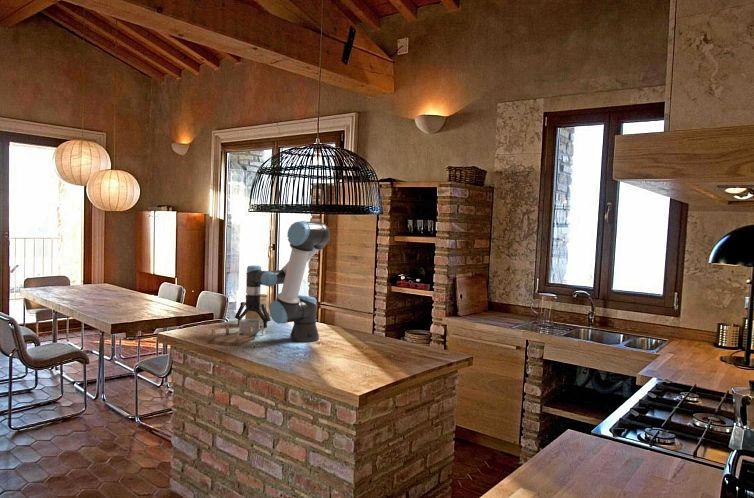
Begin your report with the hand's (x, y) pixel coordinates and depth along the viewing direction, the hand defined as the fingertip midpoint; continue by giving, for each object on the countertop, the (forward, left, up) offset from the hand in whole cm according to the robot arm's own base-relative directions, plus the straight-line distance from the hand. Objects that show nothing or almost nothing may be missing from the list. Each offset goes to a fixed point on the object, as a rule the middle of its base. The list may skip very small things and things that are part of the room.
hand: (252, 332), depth 300 cm
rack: (+2, +18, -1) cm, 18 cm away
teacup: (0, 0, -1) cm, 1 cm away
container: (+10, -23, -1) cm, 25 cm away
